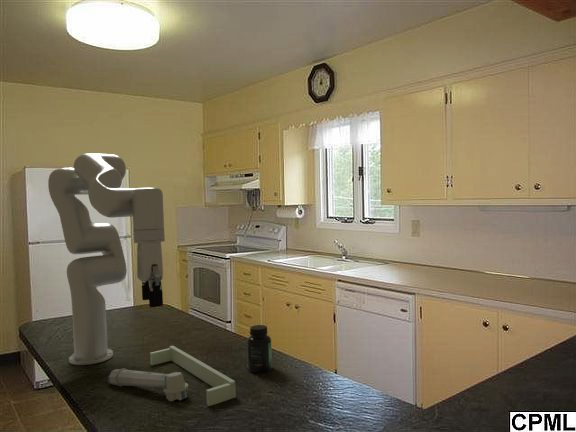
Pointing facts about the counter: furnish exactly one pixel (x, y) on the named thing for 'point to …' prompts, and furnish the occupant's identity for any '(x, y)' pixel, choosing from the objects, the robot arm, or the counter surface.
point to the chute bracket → (198, 373)
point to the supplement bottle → (259, 350)
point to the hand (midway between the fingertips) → (152, 302)
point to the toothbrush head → (151, 381)
